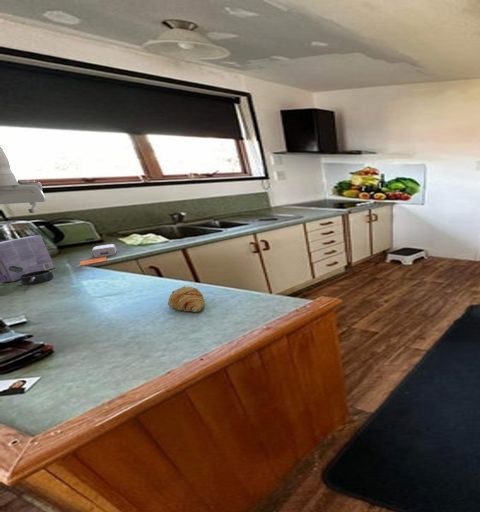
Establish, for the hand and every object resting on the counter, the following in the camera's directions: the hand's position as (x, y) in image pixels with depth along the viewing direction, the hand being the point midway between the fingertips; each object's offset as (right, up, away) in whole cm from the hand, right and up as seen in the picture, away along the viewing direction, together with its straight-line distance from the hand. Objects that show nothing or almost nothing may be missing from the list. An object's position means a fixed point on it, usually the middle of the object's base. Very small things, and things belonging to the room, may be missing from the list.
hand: (15, 214), depth 118 cm
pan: (+4, -30, +5) cm, 30 cm away
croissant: (+90, -37, -20) cm, 99 cm away
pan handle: (+10, -29, -2) cm, 31 cm away
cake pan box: (-9, -27, +13) cm, 32 cm away
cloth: (+3, -21, +29) cm, 36 cm away
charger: (-5, -17, +43) cm, 47 cm away
